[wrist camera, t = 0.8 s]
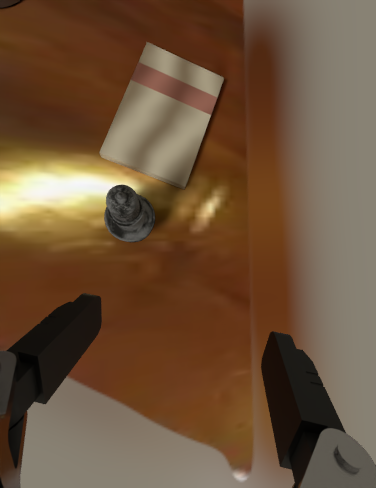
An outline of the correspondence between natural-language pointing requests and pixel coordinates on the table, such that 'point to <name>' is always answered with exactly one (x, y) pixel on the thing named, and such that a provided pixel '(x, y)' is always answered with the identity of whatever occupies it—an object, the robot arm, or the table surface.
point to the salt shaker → (128, 214)
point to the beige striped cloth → (162, 117)
